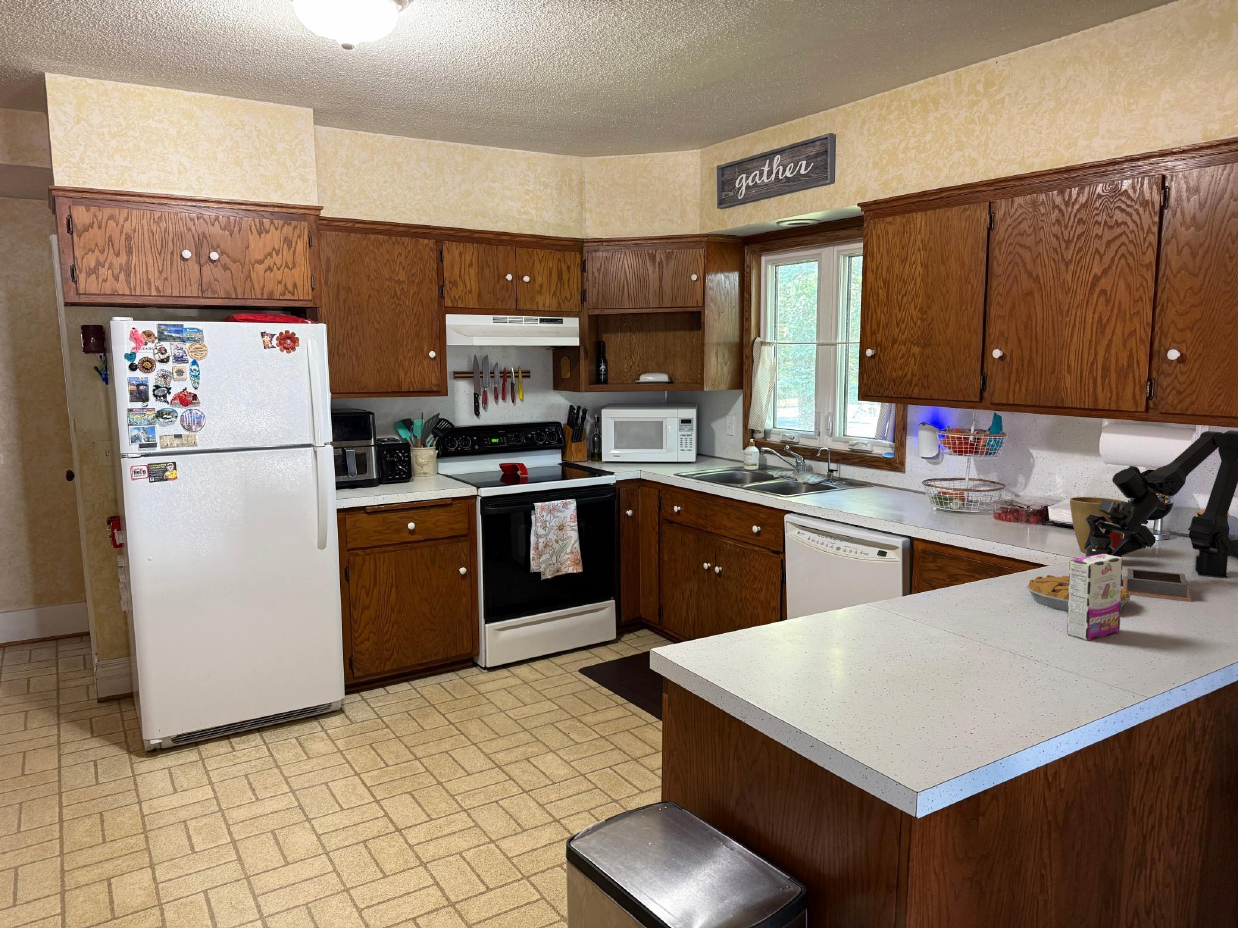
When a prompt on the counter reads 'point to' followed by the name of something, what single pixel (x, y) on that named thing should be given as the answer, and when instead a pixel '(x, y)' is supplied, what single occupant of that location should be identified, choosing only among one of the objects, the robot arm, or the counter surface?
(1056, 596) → the pie
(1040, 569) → the counter surface
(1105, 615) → the candy bar box
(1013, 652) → the counter surface
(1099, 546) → the supplement bottle
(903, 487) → the counter surface
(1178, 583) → the grey square tray
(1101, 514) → the plant pot
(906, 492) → the counter surface
